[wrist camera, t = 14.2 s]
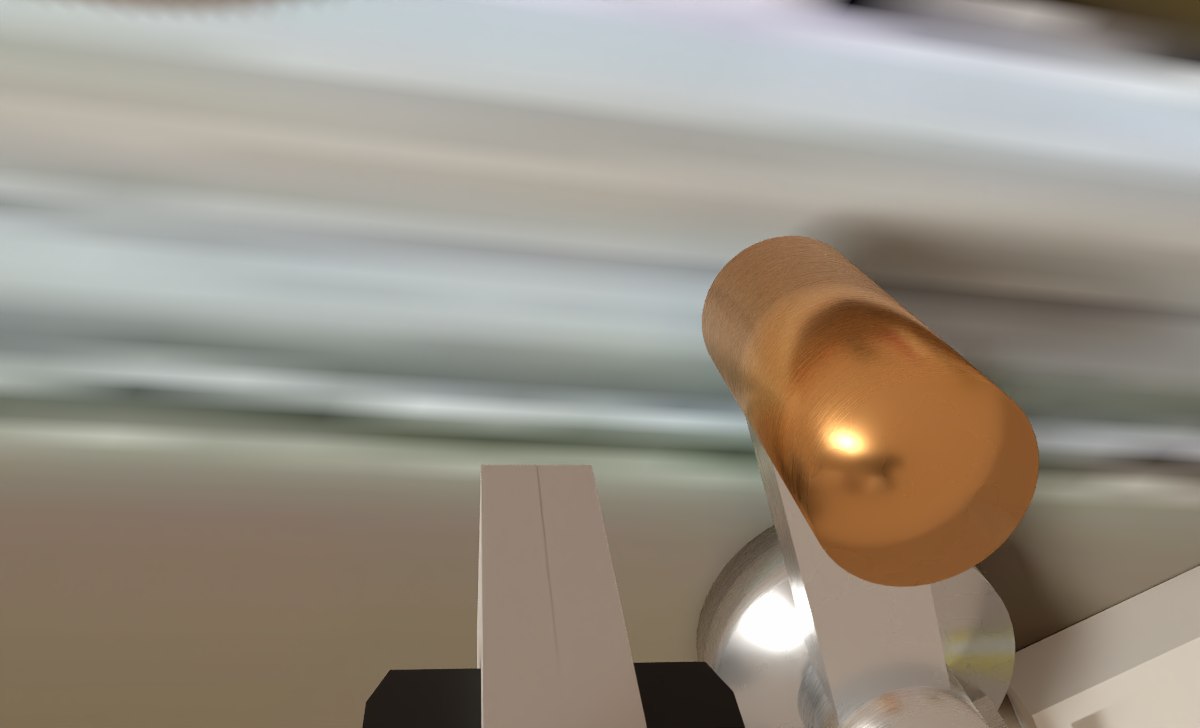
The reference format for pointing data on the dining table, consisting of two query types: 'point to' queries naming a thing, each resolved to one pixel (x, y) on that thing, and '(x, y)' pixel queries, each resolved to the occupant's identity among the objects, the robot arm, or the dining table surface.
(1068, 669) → the tray
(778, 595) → the crank base
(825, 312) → the crank lever
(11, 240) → the dining table surface
